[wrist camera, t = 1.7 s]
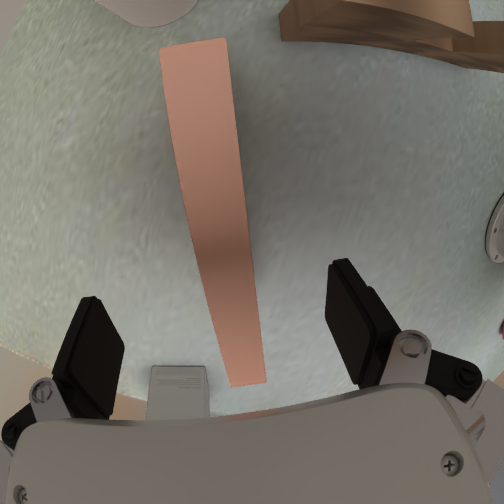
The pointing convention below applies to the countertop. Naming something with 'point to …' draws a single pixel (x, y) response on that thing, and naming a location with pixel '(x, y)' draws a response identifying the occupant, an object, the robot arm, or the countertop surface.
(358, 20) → the walnut slotted plate
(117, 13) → the cylindrical container
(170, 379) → the supplement box
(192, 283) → the countertop surface
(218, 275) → the terracotta slotted plate
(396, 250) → the countertop surface
